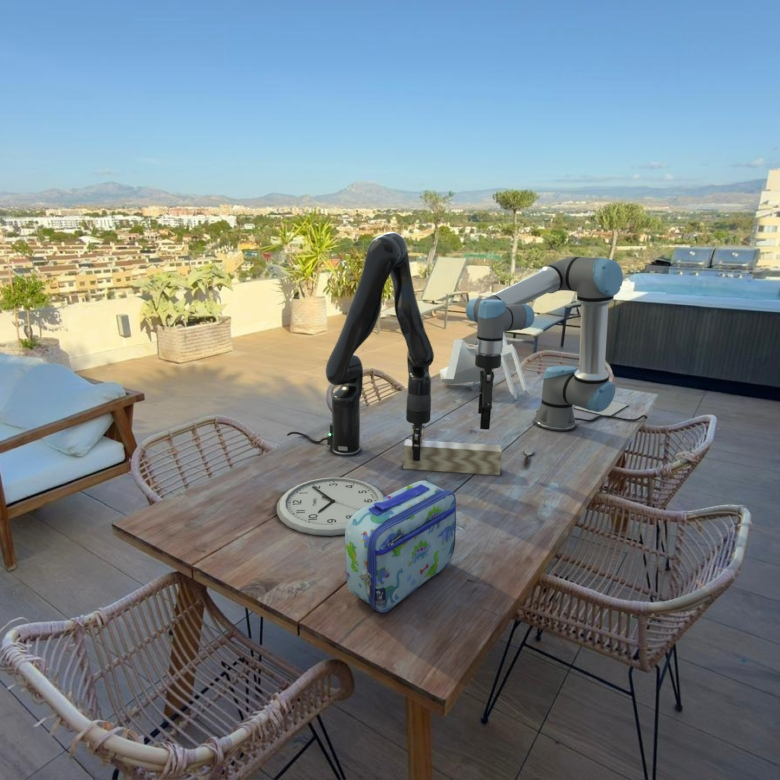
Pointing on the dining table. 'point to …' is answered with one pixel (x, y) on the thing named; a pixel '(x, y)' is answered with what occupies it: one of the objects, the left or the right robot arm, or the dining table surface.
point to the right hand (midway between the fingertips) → (483, 420)
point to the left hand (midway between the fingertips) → (416, 456)
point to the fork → (527, 454)
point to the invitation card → (608, 408)
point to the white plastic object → (467, 371)
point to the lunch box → (399, 543)
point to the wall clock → (325, 504)
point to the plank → (454, 457)
